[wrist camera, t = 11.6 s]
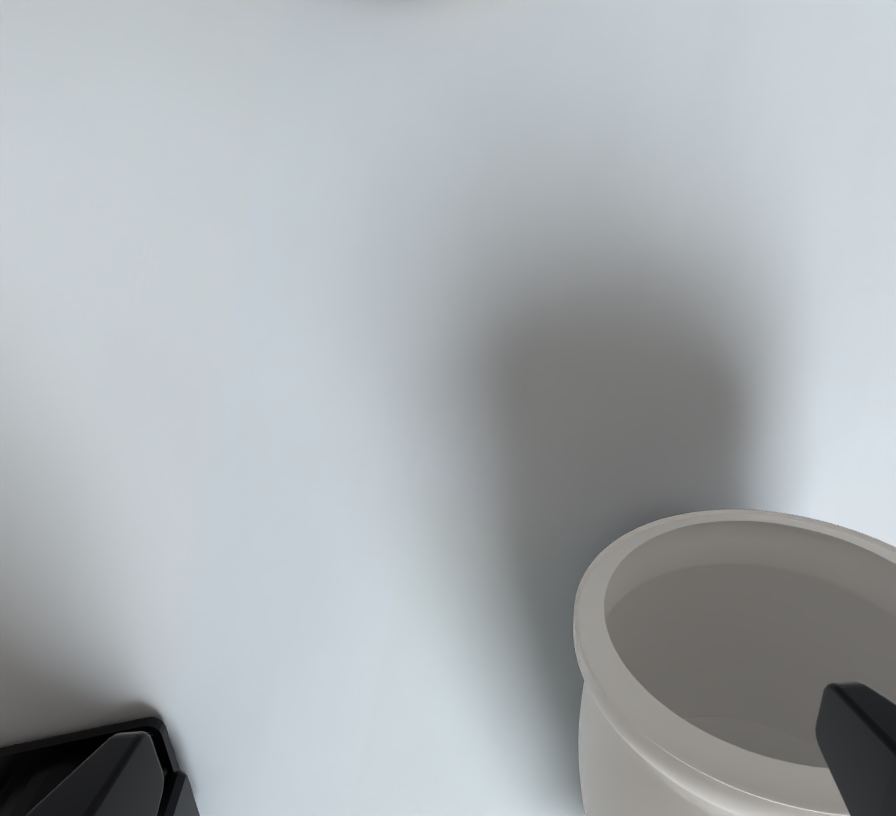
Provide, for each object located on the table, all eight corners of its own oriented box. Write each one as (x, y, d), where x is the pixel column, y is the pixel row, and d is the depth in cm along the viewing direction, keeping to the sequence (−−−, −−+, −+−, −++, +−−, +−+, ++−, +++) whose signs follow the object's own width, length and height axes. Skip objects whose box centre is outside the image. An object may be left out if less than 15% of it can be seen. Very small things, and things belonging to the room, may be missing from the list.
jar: (656, 758, 29) (659, 478, 23) (935, 904, 22) (1037, 567, 17) (534, 988, 22) (494, 665, 16) (894, 1302, 15) (1050, 951, 9)
